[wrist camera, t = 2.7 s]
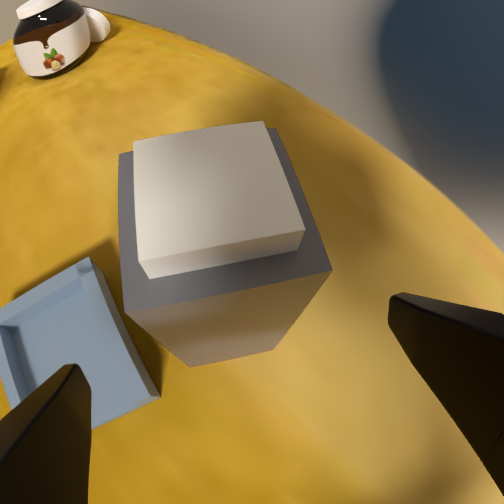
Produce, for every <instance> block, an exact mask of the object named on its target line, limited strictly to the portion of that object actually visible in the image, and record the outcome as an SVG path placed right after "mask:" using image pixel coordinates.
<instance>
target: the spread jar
mask: <svg viewBox="0 0 504 504" xmlns="http://www.w3.org/2000/svg"><path fill="white" fill-rule="evenodd" d="M16 12H17V15H18V18H19V20H20V22H19V24H18V26H17V28H16V31H15V33H14V37H13V45H14V49H15V52H16V55H17V57H18V60H19V62H20V65H21V67H22V69H23V70H24V72H25V73H26V74H27V75H28V76H30V77H32V78H35V79H40V80H48V79H52V78H56V77H58V76H61V75H63V74H65V73H67V72H68V71H70V70H71V69H73V68H74V67H76V66H77V65H78V64H79V63H80V62H81V60H82V59H83V58H84V56H85V55H86V53H87V51H88V49H89V45H90V42H101V41H103V40H104V39H105V37H106V36H107V35H108V34H109V32H110V24H109V22H108V20H107V19H106V18H105V17H104V16H103V15H102V14H101V13H100V12H98V11H96V10H94V9H90V8H83V7H82V6H81V5H80V4H79V3H77V2H75V1H73V0H30V1H28V2H26V3H25V4H23V5H22V6H20V7H19V8H18V9H17V10H16Z"/></svg>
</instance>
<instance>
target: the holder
mask: <svg viewBox="0 0 504 504" xmlns="http://www.w3.org/2000/svg"><path fill="white" fill-rule="evenodd" d="M73 363H76V364H78V365H79V366H80V367H81V369H82V371H83V373H84V375H85V377H86V379H87V381H88V383H89V385H90V387H91V392H92V403H91V430H92V429H94V428H97V427H99V426H101V425H103V424H105V423H108V422H110V421H112V420H114V419H116V418H119V417H121V416H123V415H125V414H127V413H129V412H131V411H133V410H135V409H138V408H140V407H142V406H144V405H146V404H148V403H150V402H152V401H154V400H156V399H158V398H160V397H161V396H160V394H159V392H158V390H157V389H156V387H155V385H154V383H153V381H152V379H151V377H150V376H149V374H148V372H147V370H146V368H145V366H144V364H143V362H142V360H141V358H140V356H139V354H138V352H137V350H136V348H135V346H134V344H133V342H132V340H131V337H130V335H129V333H128V331H127V329H126V327H125V324H124V322H123V320H122V318H121V316H120V313H119V311H118V309H117V306H116V304H115V302H114V299H113V297H112V295H111V292H110V290H109V287H108V285H107V282H106V280H105V277H104V275H103V272H102V271H101V270H100V269H99V268H98V267H97V265H96V264H95V263H94V262H93V261H92V260H91V259H90V257H87V258H85V259H83V260H81V261H80V262H78V263H76V264H74V265H72V266H71V267H69V268H67V269H65V270H64V271H62V272H60V273H58V274H57V275H55V276H53V277H51V278H50V279H48V280H46V281H45V282H43V283H41V284H40V285H38V286H36V287H35V288H33V289H31V290H30V291H28V292H26V293H25V294H23V295H21V296H20V297H18V298H16V299H15V300H13V301H12V302H10V303H8V304H7V305H5V306H4V307H2V308H0V376H1V379H2V383H3V386H4V389H5V392H6V395H7V398H8V401H9V404H10V406H11V409H14V408H15V407H16V406H17V405H18V404H19V403H20V402H22V401H23V400H24V399H25V398H26V397H27V396H28V395H30V394H31V393H32V392H33V391H34V390H35V389H36V388H38V387H39V386H40V385H41V384H42V383H43V382H45V381H46V380H47V379H48V378H49V377H50V376H52V375H53V374H54V373H55V372H56V371H57V370H59V369H60V368H61V367H62V366H63V365H65V364H73Z"/></svg>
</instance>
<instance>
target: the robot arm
mask: <svg viewBox="0 0 504 504" xmlns="http://www.w3.org/2000/svg"><path fill="white" fill-rule="evenodd" d="M388 324H389V327H390V329H391V330H392V332H393V334H394V335H395V337H396V338H397V340H398V342H399V343H400V345H401V347H402V348H403V350H404V352H405V353H406V355H407V357H408V358H409V360H410V361H411V363H412V364H413V366H414V367H415V369H416V370H417V371H418V373H419V374H420V375H421V377H422V378H423V379H424V381H425V382H426V383H427V385H428V386H429V387H430V389H431V390H432V391H433V393H434V394H435V395H436V397H437V398H438V400H439V401H440V402H441V404H442V405H443V406H444V408H445V409H446V411H447V412H448V413H449V415H450V416H451V418H452V419H453V420H454V422H455V423H456V425H457V426H458V428H459V429H460V430H461V432H462V433H463V435H464V436H465V438H466V439H467V441H468V442H469V443H470V445H471V446H472V448H473V449H474V451H475V452H476V454H477V455H478V457H479V458H480V460H481V461H482V462H483V465H484V466H485V468H486V469H487V471H488V472H489V474H490V475H491V477H492V478H493V480H494V482H495V483H496V485H497V486H498V488H499V490H500V491H501V493H502V494H503V496H504V315H503V314H502V313H498V312H493V311H488V310H484V309H479V308H474V307H469V306H465V305H460V304H455V303H451V302H446V301H441V300H437V299H432V298H427V297H423V296H418V295H413V294H409V293H404V292H402V293H398V294H395V295H393V296H391V298H390V301H389V312H388ZM91 403H92V392H91V387H90V385H89V383H88V381H87V379H86V377H85V375H84V373H83V371H82V369H81V367H80V366H79V365H78V364H76V363H73V364H65V365H63V366H62V367H61V368H60V369H59V370H57V371H56V372H55V373H54V374H53V375H52V376H50V377H49V378H48V379H47V380H46V381H45V382H43V383H42V384H41V385H40V386H39V387H38V388H36V389H35V390H34V391H33V392H32V393H31V394H30V395H28V396H27V397H26V398H25V399H24V400H23V401H22V402H20V403H19V404H18V405H17V406H16V407H15V408H14V409H12V410H11V411H10V412H9V413H8V414H7V415H6V416H5V417H3V418H2V419H1V420H0V504H88V481H89V464H90V450H91Z"/></svg>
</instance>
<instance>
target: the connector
mask: <svg viewBox="0 0 504 504" xmlns="http://www.w3.org/2000/svg"><path fill="white" fill-rule="evenodd" d="M118 223H119V249H120V266H121V280H122V292H123V302H124V312H125V313H126V314H127V315H128V316H129V317H130V318H131V319H132V320H134V321H135V322H136V323H137V324H138V325H139V326H140V327H142V328H143V329H144V330H145V331H146V332H147V333H149V334H150V335H151V336H152V337H153V338H154V339H156V340H157V341H158V342H159V343H160V344H162V345H163V346H164V347H165V348H167V349H168V350H169V351H170V352H171V353H173V354H174V355H175V356H176V357H178V358H179V359H180V360H182V361H183V362H184V363H185V364H187V365H188V366H189V367H194V366H200V365H205V364H210V363H215V362H220V361H225V360H230V359H234V358H239V357H243V356H248V355H252V354H257V353H261V352H265V351H269V350H273V349H274V348H275V347H276V346H277V344H278V343H279V342H280V340H281V339H282V338H283V337H284V335H285V334H286V333H287V331H288V330H289V329H290V328H291V326H292V325H293V324H294V322H295V321H296V320H297V318H298V317H299V316H300V314H301V313H302V312H303V310H304V309H305V308H306V306H307V305H308V304H309V302H310V301H311V299H312V298H313V297H314V295H315V294H316V293H317V291H318V290H319V289H320V287H321V286H322V284H323V283H324V282H325V280H326V279H327V277H328V276H329V275H330V273H331V272H332V267H331V264H330V262H329V259H328V256H327V253H326V251H325V248H324V245H323V243H322V240H321V237H320V234H319V232H318V229H317V227H316V224H315V221H314V219H313V216H312V214H311V211H310V209H309V206H308V203H307V201H306V198H305V196H304V193H303V191H302V188H301V186H300V184H299V181H298V179H297V176H296V174H295V171H294V169H293V167H292V164H291V162H290V160H289V157H288V155H287V152H286V150H285V148H284V145H283V143H282V141H281V139H280V136H279V134H278V132H277V130H276V128H273V129H266V127H265V124H264V122H263V121H256V122H247V123H239V124H231V125H223V126H216V127H209V128H203V129H197V130H190V131H185V132H179V133H173V134H168V135H163V136H158V137H153V138H148V139H143V140H139V141H134V142H133V151H130V152H126V153H122V154H119V166H118Z"/></svg>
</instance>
